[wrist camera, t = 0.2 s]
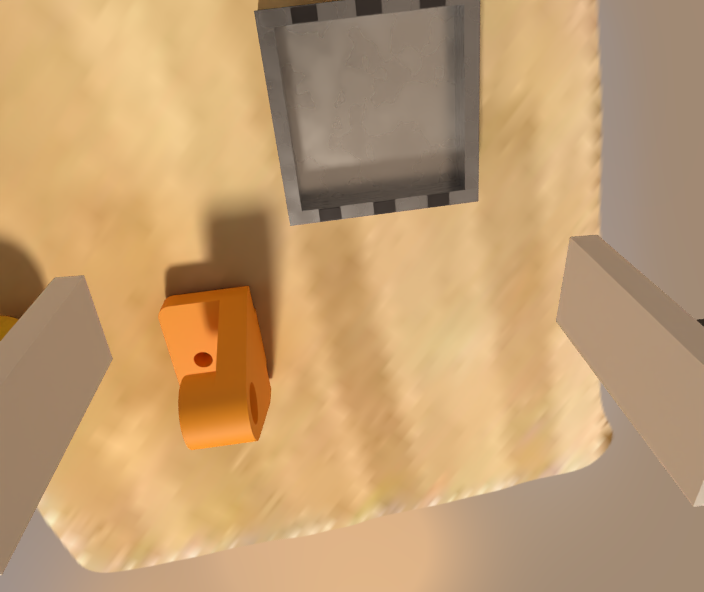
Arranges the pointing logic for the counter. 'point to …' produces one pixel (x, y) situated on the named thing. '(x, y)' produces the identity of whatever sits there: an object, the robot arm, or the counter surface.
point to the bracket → (217, 366)
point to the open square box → (373, 104)
